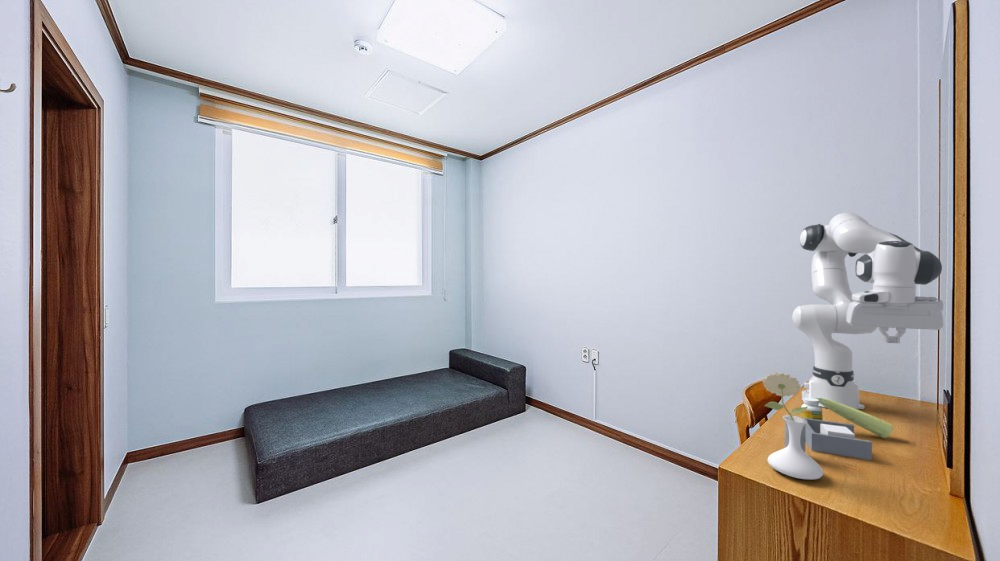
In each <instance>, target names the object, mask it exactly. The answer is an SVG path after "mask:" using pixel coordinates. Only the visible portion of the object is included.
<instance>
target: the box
mask: <svg viewBox="0 0 1000 561" xmlns="http://www.w3.org/2000/svg"><path fill="white" fill-rule="evenodd" d="M800 417H801V418H802V416H800ZM804 419H806V420H807V421H808V422H807V423H806V441H805V444H807V446H808V448H809V449H810V451H813V452H817V453H824V454H830V455H835V456H842V457H848V458H853V459H859V460H865V461H873V455H872V454H873V442H872V441H871V440H867V439H860V438H855V439H854V438H847V437H841V436H834V435H827V434H820V424H827V425H835V426H843V427H847V428H848V429H849V430H850V431H851V432H852V433H854V434H855V424H854V423H853V424H852V423H844V422H836V421H830V420H824V419H823V420H816V419H809V418H804Z"/></svg>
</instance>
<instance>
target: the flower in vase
mask: <svg viewBox="0 0 1000 561" xmlns="http://www.w3.org/2000/svg"><path fill="white" fill-rule="evenodd" d="M799 382H800V381H799V380H797V378H796V377H792V376H791V374H785V373H784V372H780V373H778V372H774V373H773V374H771V373H769V374H768V375H766V377H765V378H764V380H762V383H763V384H762V385H763V387H764V388H766V391H768V392H770V393H771V394H775V395H776V396H779V397H781V403H782V404H781V403H778V402H777V401H769V402H768V403H765V404H764V407H766V408H769V409H770V408H771V409H773V410H776V411H780V410H781V409H783V408H784V410H785V411H786V413H788V415H783V416H782V418H783V420H784V422H785V421H786V423H787V425H788V429H789V445H788V446H787V447H786V448H785V447H784V448H781V449H779V450H777V451H774V452H772V453H771V454H770V455H768V458H767V463H768V464H769V466H770V467H771V468H773V469H774V470H776V471H777V472H780V473H781V474H783V475H786V476H789V477H792V478H795V479H799V480H800V479H801V480H818V479H821V478H822V477H823V476H824V471H823V468H822V467H821V466H820V465H819V463H818V462H817V461H816V460H815V459H814V458H812V457H810V455H809V454H807V453H806V451H805V452H804V451H803V450H802V448H801V445H800V437H801V431H802V428H803V426H804V425H805V424H806V423H807V422H808V421H807V420H806V419H804V418H801V417H802V416H796V415H798V414H802V412H804V411H805V410H806V409H807V407H808V406H807V407H802V408H801V407H794V408H793V409H792V410H791V411H789V410H788V409H787V407H786V406H785V402H784V397H786V396H787V397H791V396H796V395H797V393H799V392H800V391H801V390H802V388H801V385H800V383H799Z"/></svg>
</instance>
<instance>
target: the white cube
mask: <svg viewBox="0 0 1000 561" xmlns="http://www.w3.org/2000/svg"><path fill="white" fill-rule="evenodd" d="M820 434H827V435H834V436H841V437H847V438H854V439H856V436H855V432H854V433H852V432H851V431H850V430H849V429H848V428H847V427H843V426H835V425H827V424H820Z"/></svg>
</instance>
